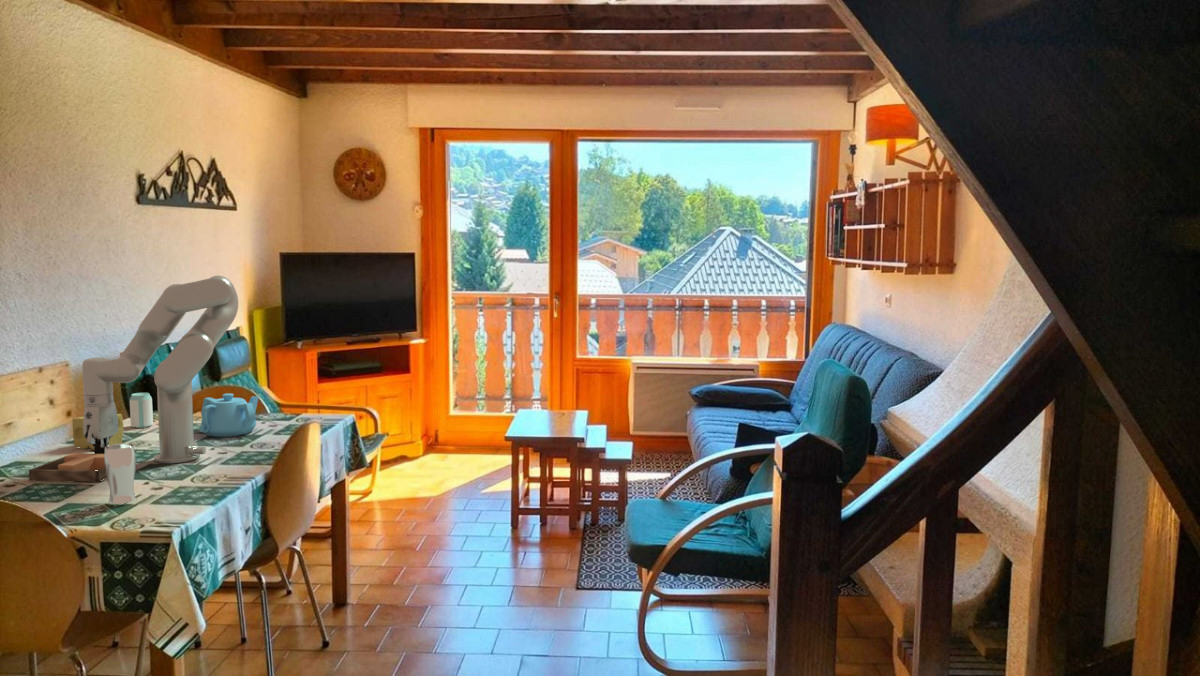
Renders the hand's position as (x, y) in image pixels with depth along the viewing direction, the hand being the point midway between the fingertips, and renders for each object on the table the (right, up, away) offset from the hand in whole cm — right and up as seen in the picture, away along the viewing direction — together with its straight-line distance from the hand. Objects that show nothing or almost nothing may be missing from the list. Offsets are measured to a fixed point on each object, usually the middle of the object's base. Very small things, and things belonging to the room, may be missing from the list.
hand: (101, 459), depth 247 cm
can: (-16, +4, +51) cm, 54 cm away
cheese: (-15, +1, +23) cm, 28 cm away
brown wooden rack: (0, -3, -9) cm, 10 cm away
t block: (-1, -3, -8) cm, 9 cm away
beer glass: (+26, -6, -34) cm, 44 cm away
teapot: (+18, +3, +45) cm, 49 cm away
